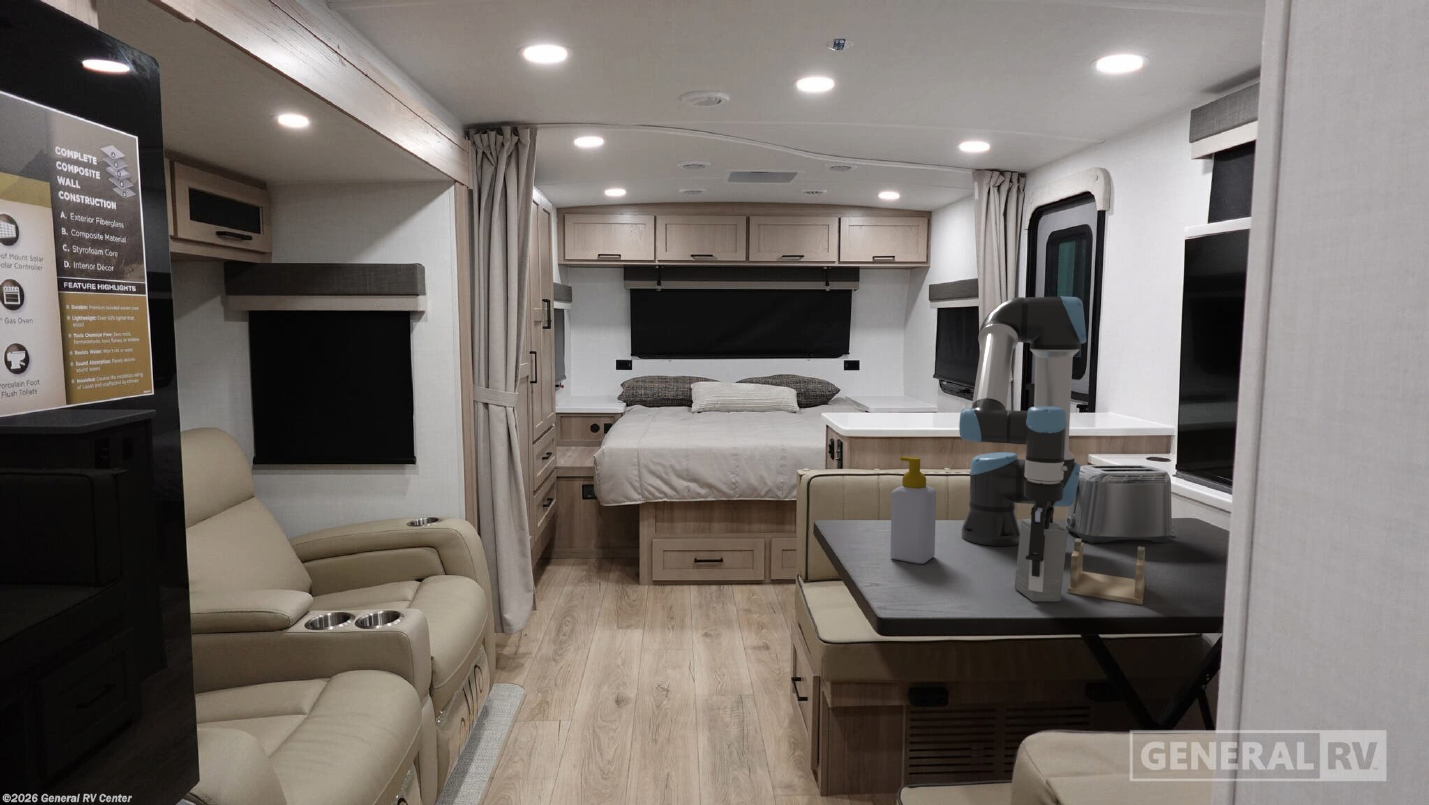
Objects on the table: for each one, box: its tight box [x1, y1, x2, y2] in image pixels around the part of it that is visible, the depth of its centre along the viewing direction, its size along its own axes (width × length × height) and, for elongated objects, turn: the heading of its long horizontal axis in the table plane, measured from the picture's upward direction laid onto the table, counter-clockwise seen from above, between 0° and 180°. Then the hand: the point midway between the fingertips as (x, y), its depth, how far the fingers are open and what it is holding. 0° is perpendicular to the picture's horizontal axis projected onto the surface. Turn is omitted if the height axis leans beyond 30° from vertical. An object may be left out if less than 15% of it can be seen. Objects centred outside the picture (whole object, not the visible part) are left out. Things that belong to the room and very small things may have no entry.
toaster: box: [1064, 464, 1174, 544], centre depth 204 cm, size 17×30×19 cm, turn 88°
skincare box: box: [1014, 518, 1069, 603], centre depth 160 cm, size 8×7×16 cm
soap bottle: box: [889, 456, 937, 565], centre depth 186 cm, size 9×9×25 cm
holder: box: [1067, 537, 1146, 606], centre depth 164 cm, size 14×14×10 cm
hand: (1039, 583), depth 160 cm, fingers closed on skincare box, 10 cm apart
